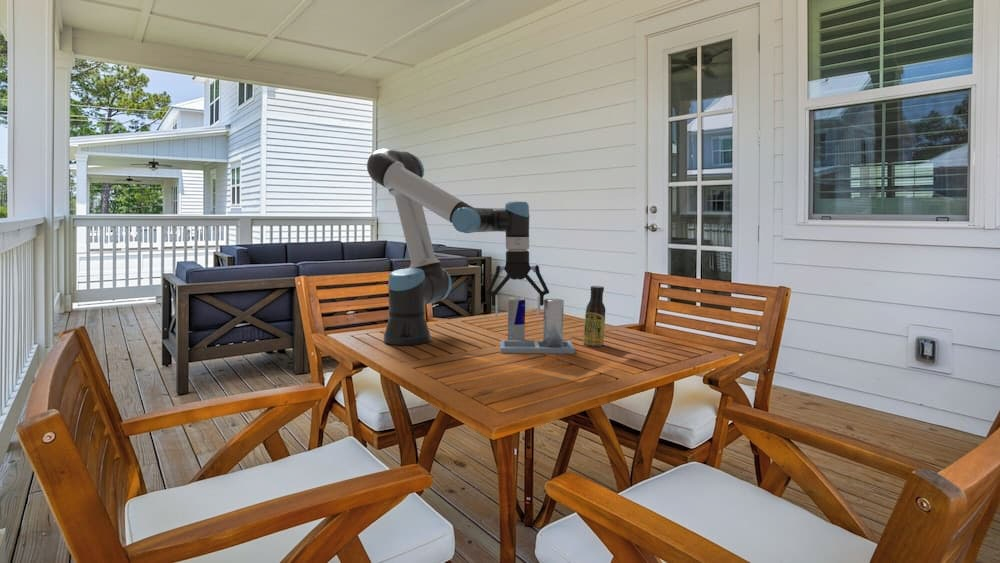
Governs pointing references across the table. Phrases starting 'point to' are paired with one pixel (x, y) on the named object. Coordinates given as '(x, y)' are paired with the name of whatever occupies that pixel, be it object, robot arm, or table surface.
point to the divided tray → (533, 347)
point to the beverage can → (516, 318)
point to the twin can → (553, 323)
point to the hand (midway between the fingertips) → (517, 315)
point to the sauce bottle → (595, 319)
